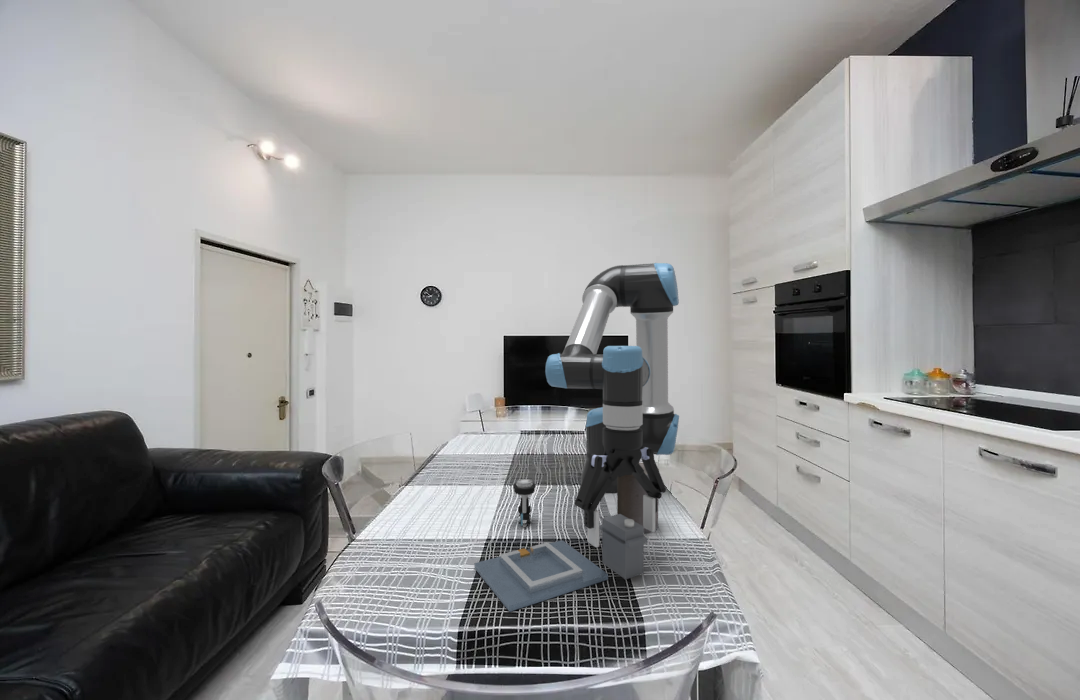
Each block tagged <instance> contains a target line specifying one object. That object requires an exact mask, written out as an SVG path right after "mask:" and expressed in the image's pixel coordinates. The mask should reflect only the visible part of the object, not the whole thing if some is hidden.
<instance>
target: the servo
mask: <svg viewBox="0 0 1080 700" xmlns="http://www.w3.org/2000/svg"><path fill="white" fill-rule="evenodd" d="M601 520H602V522H601V524H599V531H601V532H602V534H601V535H602V539H601V540H602V541H601V543H602V545H601V546H602V551H601V553H602V558H601V559H602V560H601V561H602V564H603V565H605V566H606V567H608V568H609V569H610V570H611V571H613V572H614V573H615V574H617V575H619V576H620V577H621V578H622V579H624V580H626V581H627V580H628V579H631V578H634V577H638V576H640V575H643V574H644V566H645V565H644V563H645V561H644V560H645V559H644V557H645V552H644V551H645V548H644V547H645V546H644V545H645V544H646V543H648V542H649V540H648V539H649V538H648V537H646V536H644V535H645V533H644V526H642V525H640V524H638V523H636V522H634V520H632V519H629V518H627V517H625V516H623V515H621V514H613V515H610V516H606V517H605V516H604V517H602V518H601Z"/></svg>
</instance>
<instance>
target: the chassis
mask: <svg viewBox="0 0 1080 700" xmlns="http://www.w3.org/2000/svg"><path fill="white" fill-rule="evenodd" d="M473 568H474V569H475V571H476V572H477V573H478V574H479V576H480V577H481V578H482V580H483V581H484V582H485V584H486V585H487V586H488V587H489V589H490V590H491V591H492V593H494V595H495V596H496V597H497V599H499V601H500V602H501V603H502V605H503V606H504V607H505V608H506V610H507V611H508V612H509V613H511V612H513V611H517V610H520V609H523V608H526V607H530V606H533V605H535V604H538V603H541V602H544V601H546V600H547V601H548V600H550V599H551V600H552V599H554V598H556V597H559V596H562V595H565V594H568V593H572V592H574V591H578V590H581V589H583V588H587V587H590V586H593V585H596V584H599V583H602V582H605V581H608V580H609V574H608V573H607V572H606V571H604V570H603V569H602V568H601V567H599V566H598V565H596V564H595V563H594V562H592V561H591V560H590V559H589V558H587V556H584V555H583V554H582V553H580V552H579V551H578V550H576V549H575V548H574V547H572V545H570V544H568V543H567V542H565V541H564V540H563V539H562V540H556V541H555V542H550V543H549V542H543V543H540V544H535V545H532V546H530V548H525V547H524V548H520V549H517V550H513V551H509V552H505V553H501V554H499V555H498V557H497V556H496V557H493V558H489V559H486V560H481V561H479V562H475V563H474V567H473Z"/></svg>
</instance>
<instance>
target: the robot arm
mask: <svg viewBox="0 0 1080 700" xmlns="http://www.w3.org/2000/svg"><path fill="white" fill-rule="evenodd" d="M581 298H582V299H581V301H582V306H581V308H580V311H579V313H578V315H577V317H576V320H575V323H574V326H573V328H572V329H571V332H570V333H569V334H570V335H569V338H568V340H567V342H566V344H565V347H564V349H563V351H562V353H561V352H558V353H553V354H550V355H549V356H547V359H546V362H545V371H544V373H545V378H546V382H547V383H548V385H549V386H551V387H552V388H553V387H555V388H562V389H583V390H585V389H587V390H588V389H589V390H590V389H592V390H602V406H601V407H597V408H593V409H591V410H589V411H588V412H587V414H586V423H585V430H586V431H585V433H586V435H585V440H586V443H585V445H586V446H585V447H586V450H585V451H586V455H585V456H586V459H585V462H584V465H583V469H582V473H581V475H580V487H579V490H578V492H577V495H576V497H575V501H574V505H575V506H576V507H577V508H579V509H581V510H583V511H584V512H583V513H584V514H583V518H584V519H583V524H584V527H585V528H586V529H587V534H586V535H587V538H586V539H587V543H589V544H590V545H591V546H593V547H594V548H599V547H600V529H599V525H600V511H599V510H598V509H597V507H598V506H599V504H601V503H600V502H601V501H602V500H603V498H604V496H605V495H606V493H608V494H609V493H617V478H618V477H622V476H624V475H632V474H633V476H634V477H635V478H636V480H637V481H638V482H639V484H640V485H641V486H642V487H643V489H644V490H645V491H646V493H647V494H648V495H643V526H644V528H645V529H647V530H649V531H651V532H650V533H656V530H655V513H656V512H657V498H658V500H659V499H662V497H663V493H665V492H666V490H667V487H666V485H665V483H664V480H663V478H662V476H661V473H660V469H659V468H658V466H657V462H656V460H655V455H656V456H659V455H664V456H669V455H672V454H673V453H674V452H675V447H676V443H677V442H676V441H677V435H678V430H679V422H680V421H679V419H680V415H679V414H677V413H675V409H674V406H673V405H672V404H670V403H669V356H668V355H669V353H668V352H669V350H668V348H669V347H668V344H669V341H668V340H669V339H668V327H669V325H668V323H669V322H668V320H669V317H670V316H671V315H672V314H673V313H674V307H676V306H679V303H680V302H679V301H680V299H679V289H678V283H677V276H676V271H675V268H674V266H673V265H672V264H671V263H667V262H666V263H665V262H664V263H663V262H661V263H660V262H653V263H640V264H627V265H626V264H625V265H623V264H621V265H615V266H612V267H609V268H607V269H605V270H603V271H602V272H600V273H599V274H597V275H596V276H594V278H593V279H592V280H591V281H590V282H589V283H588V284H587V285H586V287H585V289H584V291H583V294H582V297H581ZM621 307H622V308H624V307H625V308H627V307H628V308H630V310H629V311H630V312H629V313H630V314H631V316H632V317H634V319H635V328H636V331H635V333H636V334H635V335H636V337H635V339H636V340H635V342H636V343H635V344H636V345H607V346H605V347H604V348H603V352H602V353H603V354H599V353H598V350H599V346H600V344H601V341H602V339H603V335H604V332H605V329H606V326H607V323H608V321H609V317H610V314H611V313H613V311H615V309H616V308H621ZM597 353H598V354H597ZM640 461H641V463H643V464H644V467H645V469H646V472H647V474H648V477H649V478H648V477H647V476H646V474H645V473H644V470H643V468H642V467H641V466H640V464H639V462H640ZM658 469H659V470H658ZM649 479H650V480H649Z"/></svg>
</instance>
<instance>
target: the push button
mask: <svg viewBox="0 0 1080 700" xmlns="http://www.w3.org/2000/svg"><path fill="white" fill-rule="evenodd" d="M512 488H513V489H514V493H515V494H516V495H518V496H520V504H519V506H518V507H517V508H518V509H517V510H518V511H517V512H518V513H519V514H518V523H519V522H520V526H521V527H522V528H527V527H528V526H529V522H530V523H531V518H532V514H531V512H532V507H531V505H529V504H530V502H529V500H530V499H529V496H530V495H532V494H534V493H535V489H536V484H535V483H534V482H533V481H532V479H529V478H528V479H527V478H520V479H518V480H517V481H516V482H515V483H514V484H513V487H512Z"/></svg>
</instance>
